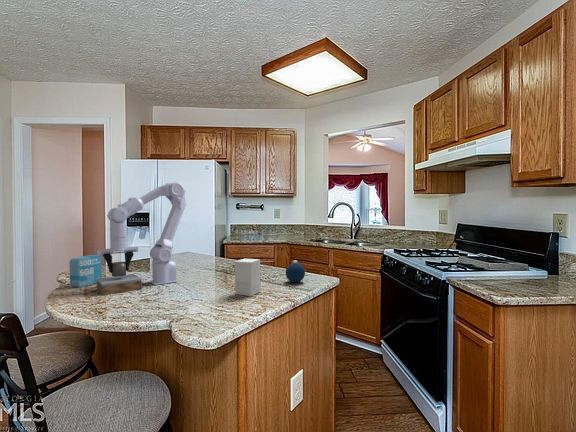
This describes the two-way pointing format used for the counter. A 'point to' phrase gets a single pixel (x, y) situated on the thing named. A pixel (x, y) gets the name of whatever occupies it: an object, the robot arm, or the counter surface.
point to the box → (119, 287)
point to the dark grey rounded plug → (118, 269)
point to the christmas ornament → (295, 272)
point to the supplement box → (247, 277)
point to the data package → (85, 270)
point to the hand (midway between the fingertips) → (118, 271)
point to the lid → (118, 279)
